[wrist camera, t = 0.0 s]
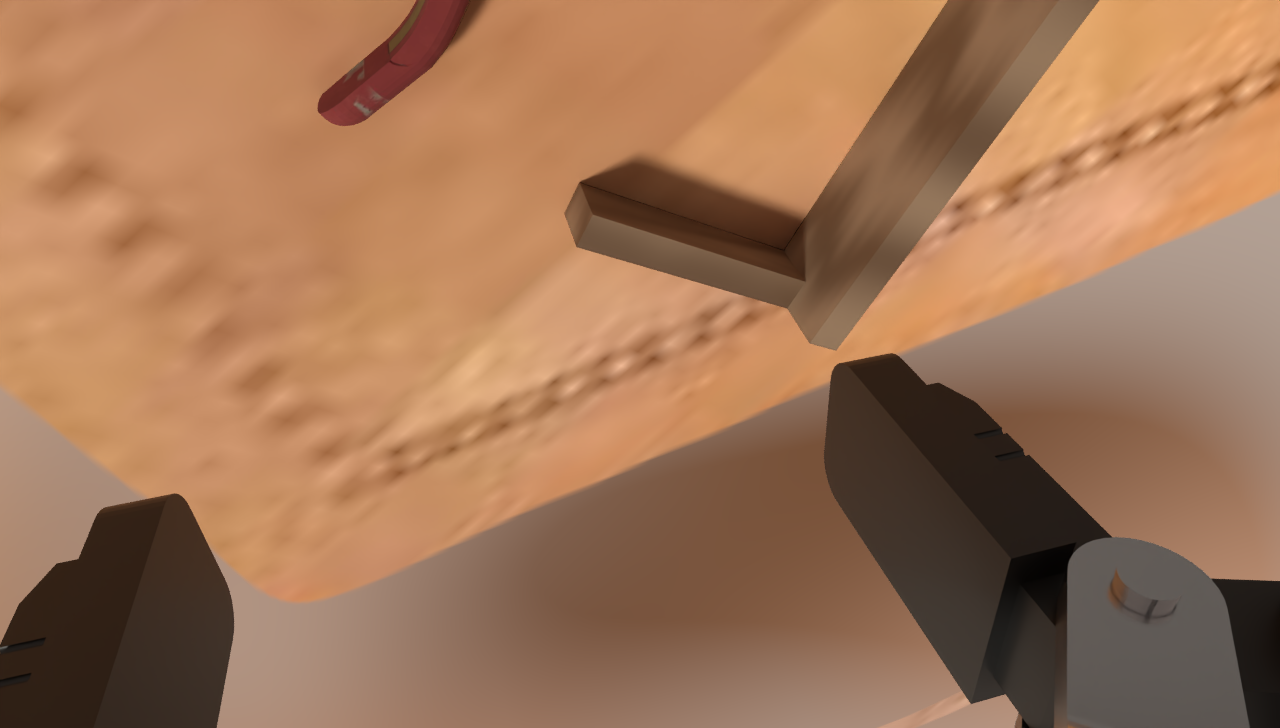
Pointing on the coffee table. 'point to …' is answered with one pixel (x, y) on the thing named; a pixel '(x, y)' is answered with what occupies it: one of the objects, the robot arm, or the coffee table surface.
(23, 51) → the coffee table surface
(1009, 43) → the tool rest
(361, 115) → the pliers
